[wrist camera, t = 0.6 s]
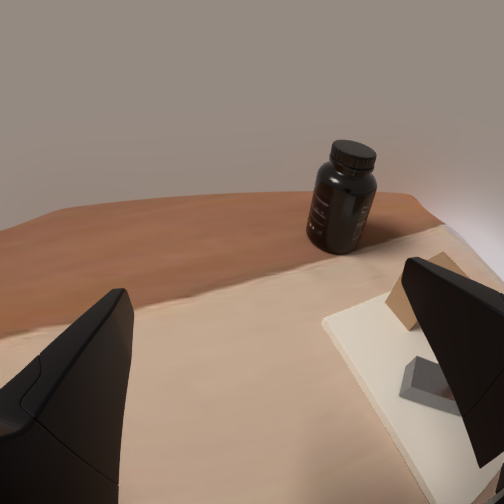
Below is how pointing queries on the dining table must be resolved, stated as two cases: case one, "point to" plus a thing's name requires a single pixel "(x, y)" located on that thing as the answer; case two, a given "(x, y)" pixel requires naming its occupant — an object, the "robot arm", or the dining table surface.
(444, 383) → the link
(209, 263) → the dining table surface
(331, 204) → the supplement bottle
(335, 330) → the base
